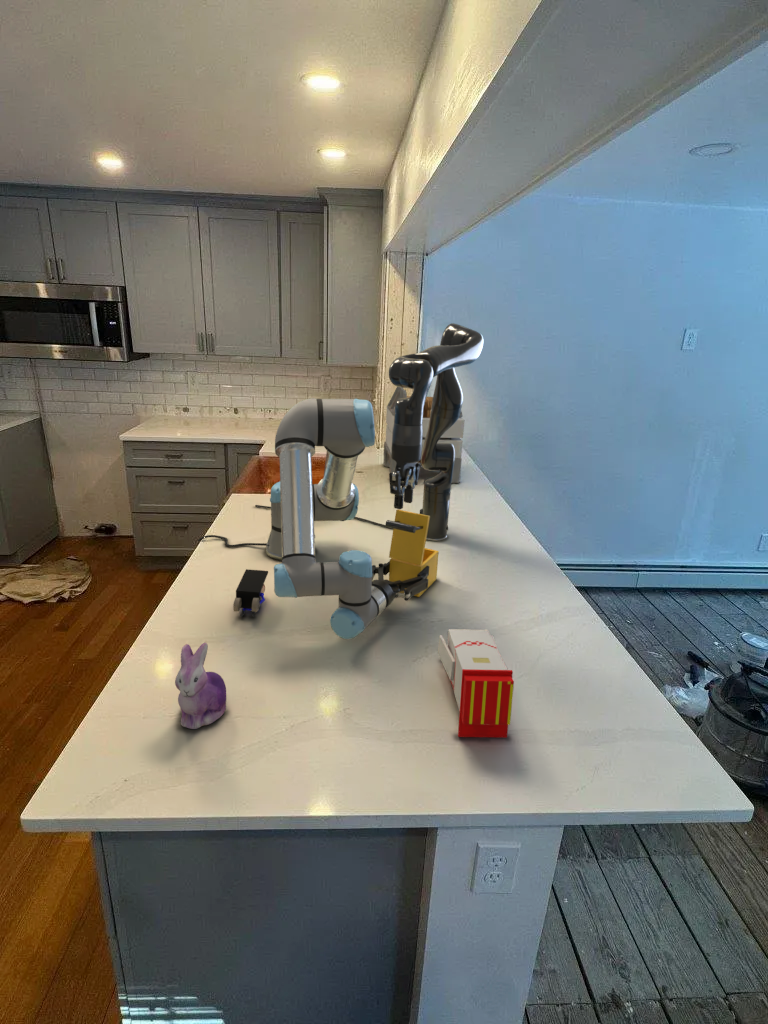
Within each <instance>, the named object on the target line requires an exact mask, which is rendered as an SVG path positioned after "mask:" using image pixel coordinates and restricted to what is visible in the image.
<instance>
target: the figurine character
mask: <svg viewBox="0 0 768 1024" xmlns="http://www.w3.org/2000/svg"><path fill="white" fill-rule="evenodd" d="M268 574H269V570H261V569H247V568H245V570H244V572H243V575H242V577H241V579H240V581H239V583H238V585H237V587H236V589H235V598H234V600H233V607H232V609H233V612H234V613H235V612H236V613H239V612H240V611H241V612H240V616H241V617H244V615H245V612H246V611H248V612H249V611H251V612H252V613H251V617H255V615H256V613H258V612H259V610H260V609H261V605H262V604H263V603H264V602H265V601H266V598H265V591H266V586H265V582H266V579H267V576H268Z"/></svg>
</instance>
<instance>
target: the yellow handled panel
mask: <svg viewBox="0 0 768 1024" xmlns="http://www.w3.org/2000/svg"><path fill="white" fill-rule="evenodd" d="M429 519H430V516H427V515H423V514H420V513H417V512H412V511H409V510H403V509H395V515H394V520H390V519H387V520H386V521H385V525H386V527H385V528H387V527H389V528H388V529H390V528H393V529H392V535H391V542H390V549H389V553H388V554H389V555H388V558H390V559H391V558H393V559H397V560H401V561H406V562H410V563H414V564H418V565H422V562H423V556H424V550H425V548H426V543H427V539H426V538H427V531H428V525H429Z"/></svg>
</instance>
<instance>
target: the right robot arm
mask: <svg viewBox="0 0 768 1024" xmlns="http://www.w3.org/2000/svg"><path fill="white" fill-rule="evenodd" d="M483 346H484V337H483V335H482V334H481V332H479V331H477V330H474V329H473V328H469V327H466V326H464V325H461V324H458V323H454V322H453V323H449V324H448V325H447V326H446V327H445V328H444V330H443V332H442V335H441V339H440V343H439V345H433V346H430V347H427V348H426V349H424V350H421V351H420V352H416V353H410V354H405V355H401V356H398V357H396V358H395V359H394V360H393V361H392V362H391V364H390V366H389V368H388V378H389V381H390V383H391V384H392V386H393V385H394V386H395V387H396V388H397V387H401V388H403V389H409V390H412V393H411V395H410V396H411V397H407V398H400V399H398V400H397V401H396V403H395V412H394V426H393V432H392V451H391V458H392V459H393V460H395V461H396V463H397V464H396V468H395V472H390V471H389V473H388V476H389V477H388V478H389V493H390V494H391V495H394V499H393V501H394V502H393V508H394V509H395V510H403V508H404V503H405V504H406V503H407V504H412V503H413V497H414V489H416V486H418V483H419V477H420V470H421V467H422V468H423V470H425V471H432V472H439V473H438V474H436V475H435V476H431V477H429V478H427V479H425V480H424V482H423V493H422V496H423V497H422V506H421V508H420V509H419V514H423V515H427V516H430V519H429V525H428V531H427V538H426V541H432V542H440V541H444V540H446V539H447V538H448V531H449V517H450V516H449V514H450V504H451V494H452V493H451V491H452V484H453V483H452V475H453V468H454V461H455V449H454V446H453V445H452V444H450V443H437V442H438V440H439V439H440V437H441V436H442V435H443V434H444V433H445V432H446V431H447V430H448V429H450V428H451V427H452V426H453V425H454V424H455V422H456V421H457V420H458V418H459V416H460V412H462V407H463V403H464V394H463V390H462V387H461V384H460V382H459V379H458V377H457V374H456V369H455V368H459V367H463V366H468V365H471V364H473V363H474V362H475V361H476V360H477V359H478V358H479V357H480V355H481V353H482V350H483V348H484V347H483ZM435 377H436V380H435V387H434V390H433V396H432V397H433V400H432V405H431V412H430V419H429V425H428V430H427V434H426V438H425V442H424V445H423V449H422V437H423V429H422V422H423V408H424V404H425V400H426V397H428V394H429V391H430V389H431V386H432V382H433V378H435ZM421 452H422V455H421ZM420 460H421V464H422V466H420V463H419V462H418V461H420ZM440 471H441V472H440ZM401 481H402V482H401ZM255 508H263V509H269V510H271V506H269V505H262V504H261V505H259V504H255ZM354 519H355V520H359V521H363V522H366V523H371V524H373V525H376V526H380V527H384V528H387V529H390V530H393V528H389V527H386V524H383V523H379V522H375V521H372V520H369V519H366V518H362V517H359V516H358V517H357V516H355V517H354V518H353V520H354Z"/></svg>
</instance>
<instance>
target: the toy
mask: <svg viewBox="0 0 768 1024" xmlns="http://www.w3.org/2000/svg"><path fill="white" fill-rule="evenodd" d="M446 640H447V643H446V641H445V639H444V636H443V635H442V634H439V637H438V646H437V656H438V657H439V659H440V661H441V663H442V666H443V668H444V670H445V672H446V674H447V677H448V679H449V681H450V684H451V687H452V690H453V693H454V697H455V701H456V705H457V708H458V711H459V714H458V715H459V716H458V730H457V731H458V732H457V737H458V738H508V731H509V726H510V725H511V717H512V707H513V697H514V696H513V695H514V684H515V680H514V679H513V673H514V671H513V670H512V669H508V667H507V665H506V662H505V661H504V659H503V658H502V655H501V653H500V651H499V649H498V647H497V643H496V639H495V637H494V635H493V634H491V632H490V631H489V629H467V628H466V629H465V628H463V629H461V628H460V629H459V628H448V630H447V639H446Z"/></svg>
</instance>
